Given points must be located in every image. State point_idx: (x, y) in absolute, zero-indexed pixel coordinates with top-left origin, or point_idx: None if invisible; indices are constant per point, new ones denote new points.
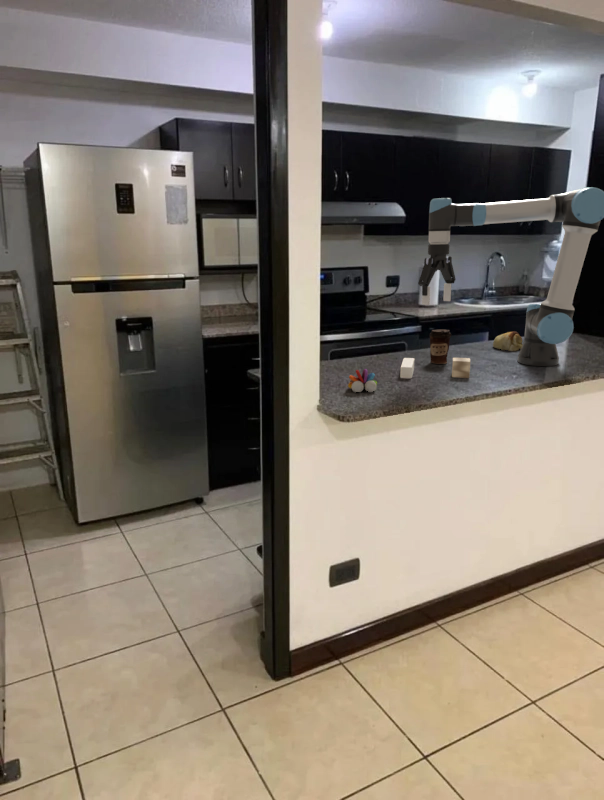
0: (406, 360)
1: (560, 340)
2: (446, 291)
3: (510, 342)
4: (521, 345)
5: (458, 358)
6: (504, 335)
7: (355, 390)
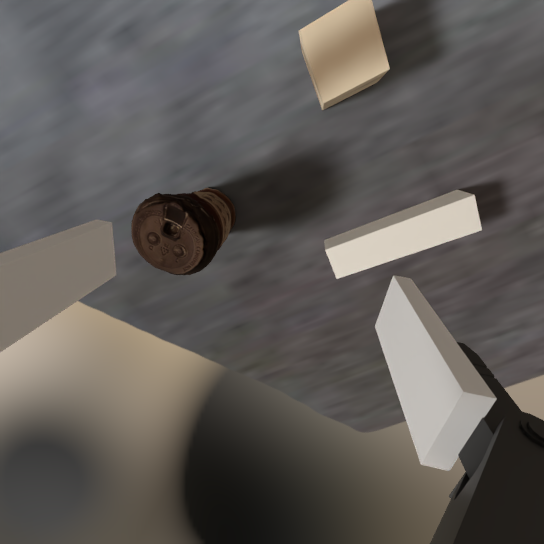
0: (371, 256)
1: None
2: (54, 284)
3: None
4: None
5: (329, 73)
6: None
7: None
